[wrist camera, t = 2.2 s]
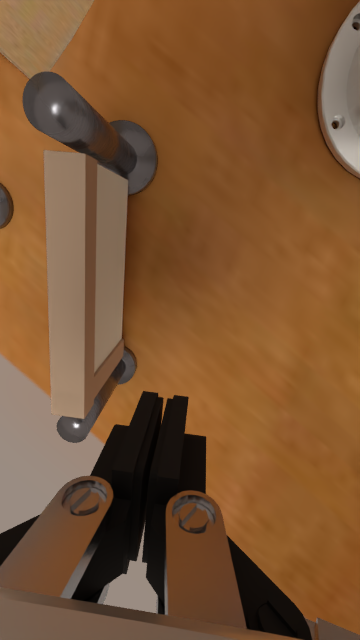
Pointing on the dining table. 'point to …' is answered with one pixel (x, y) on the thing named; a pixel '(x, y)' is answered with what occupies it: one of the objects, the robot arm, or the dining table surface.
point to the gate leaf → (83, 277)
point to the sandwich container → (38, 31)
